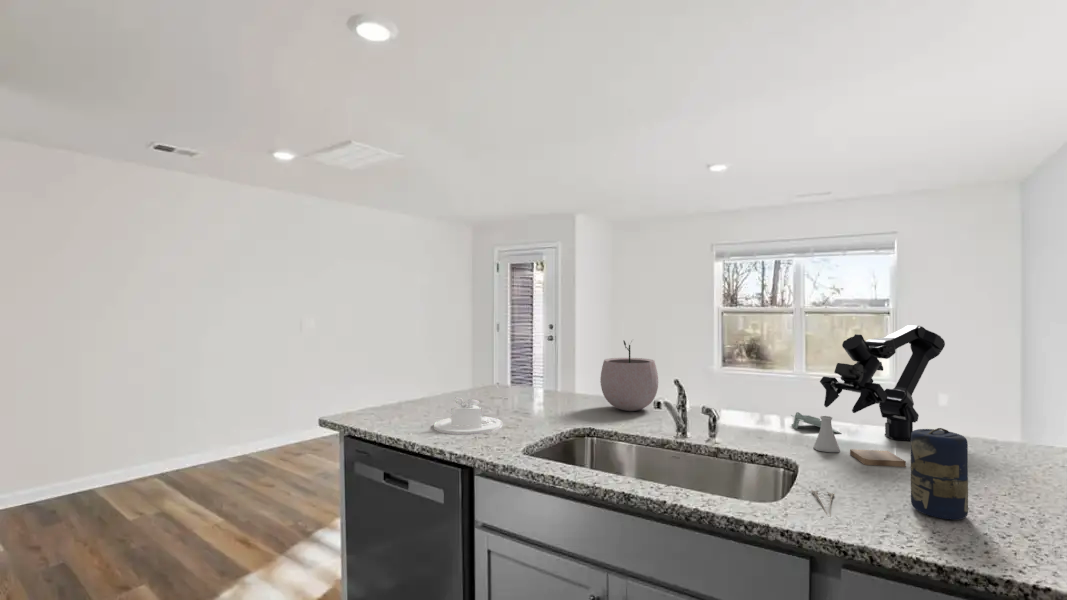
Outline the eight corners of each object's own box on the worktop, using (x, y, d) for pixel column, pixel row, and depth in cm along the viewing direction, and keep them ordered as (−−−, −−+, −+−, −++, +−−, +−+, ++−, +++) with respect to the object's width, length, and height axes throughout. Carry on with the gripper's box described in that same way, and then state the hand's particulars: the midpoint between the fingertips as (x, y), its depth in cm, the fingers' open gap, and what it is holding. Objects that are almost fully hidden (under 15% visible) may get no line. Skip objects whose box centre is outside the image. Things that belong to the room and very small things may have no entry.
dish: (499, 435, 177) (499, 402, 177) (426, 435, 178) (426, 402, 178) (504, 419, 202) (504, 390, 202) (440, 419, 202) (440, 390, 202)
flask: (837, 447, 159) (837, 415, 159) (843, 454, 152) (842, 420, 152) (811, 445, 161) (810, 413, 161) (815, 452, 154) (815, 418, 154)
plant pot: (654, 404, 228) (654, 336, 228) (662, 416, 204) (662, 340, 204) (599, 403, 230) (599, 336, 230) (601, 415, 206) (601, 340, 207)
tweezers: (811, 493, 122) (811, 485, 121) (834, 497, 120) (834, 489, 119) (817, 528, 106) (817, 519, 106) (844, 533, 104) (844, 523, 104)
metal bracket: (804, 417, 177) (787, 408, 192) (799, 433, 177) (783, 423, 192) (847, 429, 175) (826, 420, 190) (842, 446, 175) (822, 435, 190)
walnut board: (888, 456, 149) (888, 450, 149) (905, 466, 140) (905, 461, 140) (850, 454, 151) (850, 449, 151) (864, 464, 142) (864, 459, 142)
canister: (899, 505, 113) (898, 423, 113) (940, 504, 114) (939, 422, 114) (937, 524, 103) (936, 434, 104) (981, 522, 104) (980, 432, 104)
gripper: (823, 351, 169) (799, 387, 165) (880, 356, 152) (854, 396, 148) (840, 374, 172) (817, 410, 168) (898, 382, 155) (873, 422, 151)
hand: (838, 409), depth 158 cm, fingers open, 9 cm apart
